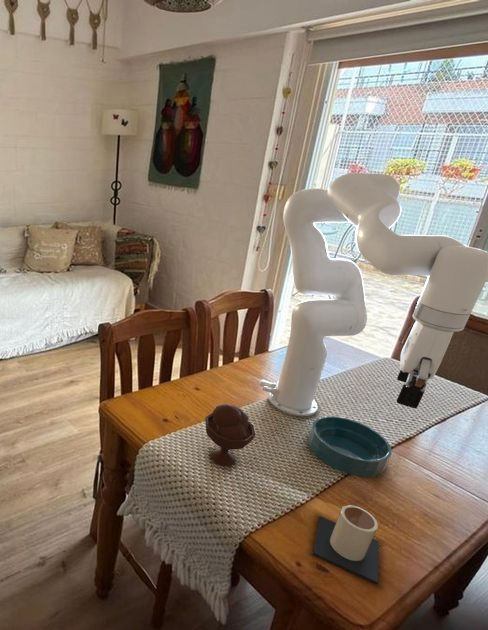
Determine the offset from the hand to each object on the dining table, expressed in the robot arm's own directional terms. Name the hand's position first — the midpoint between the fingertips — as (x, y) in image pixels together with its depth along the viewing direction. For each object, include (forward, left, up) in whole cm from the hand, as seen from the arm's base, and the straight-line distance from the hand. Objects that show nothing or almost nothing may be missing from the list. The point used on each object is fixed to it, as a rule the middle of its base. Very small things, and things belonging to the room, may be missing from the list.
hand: (406, 393), depth 87 cm
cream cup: (-3, -21, -24) cm, 32 cm away
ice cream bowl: (-29, -10, -25) cm, 39 cm away
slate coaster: (-3, -21, -25) cm, 32 cm away
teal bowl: (-5, +9, -25) cm, 27 cm away
